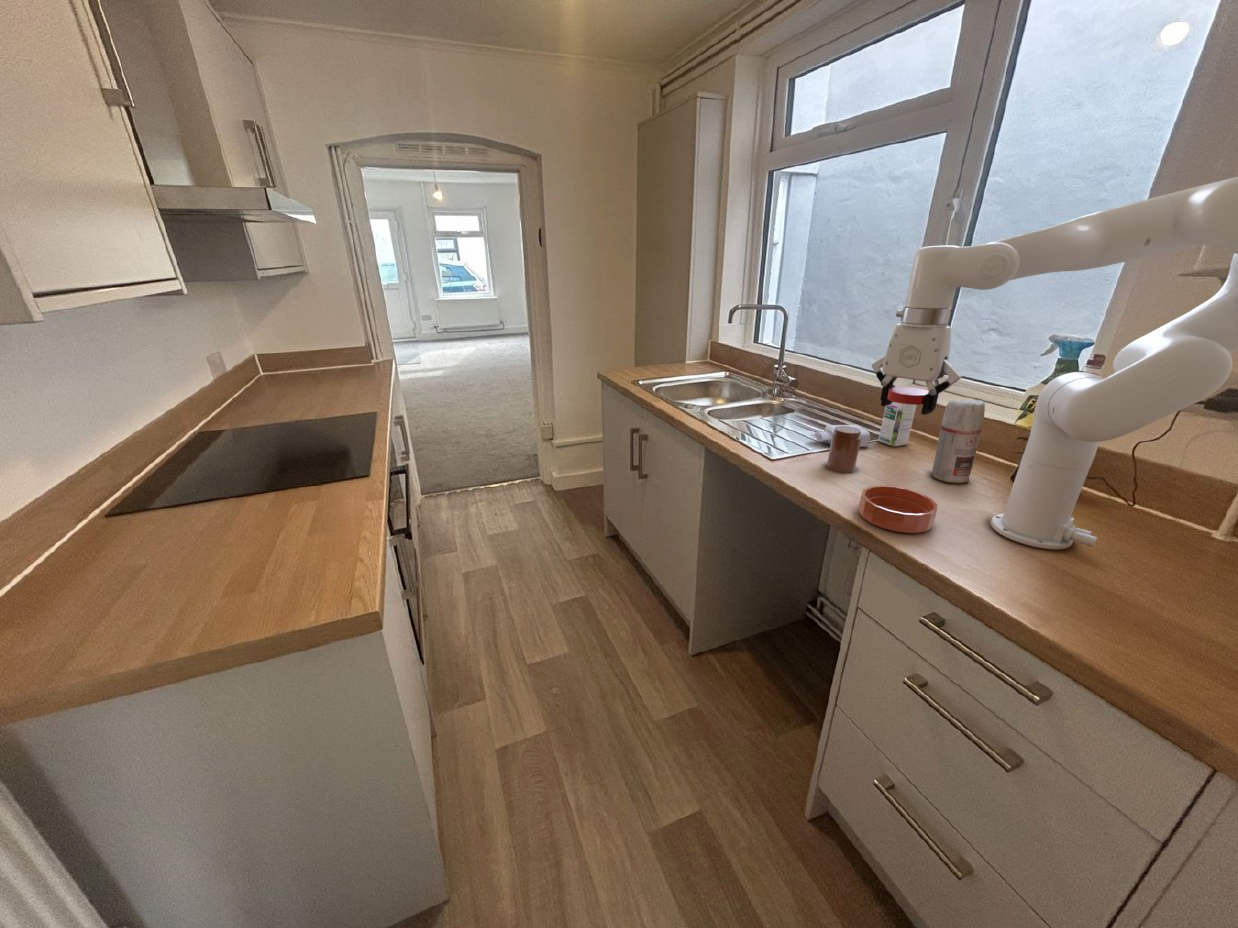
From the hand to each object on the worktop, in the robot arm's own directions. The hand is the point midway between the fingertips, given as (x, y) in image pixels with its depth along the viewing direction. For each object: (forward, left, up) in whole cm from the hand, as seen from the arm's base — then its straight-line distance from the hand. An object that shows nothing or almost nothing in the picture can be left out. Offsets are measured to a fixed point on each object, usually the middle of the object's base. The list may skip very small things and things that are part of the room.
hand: (905, 408), depth 97 cm
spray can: (-2, -29, -23) cm, 37 cm away
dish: (-4, +3, -23) cm, 23 cm away
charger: (+29, -30, -23) cm, 48 cm away
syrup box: (+19, -44, -23) cm, 53 cm away
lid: (0, 0, +3) cm, 3 cm away
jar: (+18, -14, -23) cm, 32 cm away
